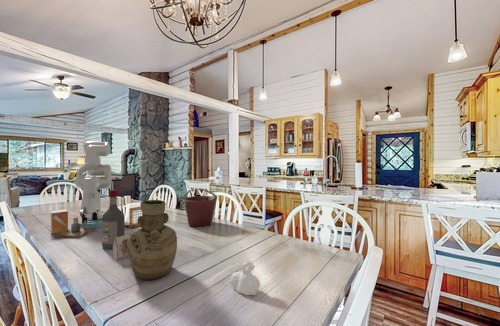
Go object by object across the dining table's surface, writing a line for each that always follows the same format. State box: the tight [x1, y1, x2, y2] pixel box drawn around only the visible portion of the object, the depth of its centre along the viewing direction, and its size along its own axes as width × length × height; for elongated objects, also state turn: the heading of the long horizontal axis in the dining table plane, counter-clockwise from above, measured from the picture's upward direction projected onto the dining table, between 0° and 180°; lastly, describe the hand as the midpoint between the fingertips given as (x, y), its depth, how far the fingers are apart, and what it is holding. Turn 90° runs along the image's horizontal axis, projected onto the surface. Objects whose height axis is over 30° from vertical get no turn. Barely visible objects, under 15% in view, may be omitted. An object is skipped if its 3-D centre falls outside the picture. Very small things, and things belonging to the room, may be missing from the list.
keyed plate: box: [79, 220, 102, 229], centre depth 157 cm, size 14×6×3 cm, turn 89°
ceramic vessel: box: [122, 199, 178, 281], centre depth 97 cm, size 19×21×30 cm
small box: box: [50, 209, 69, 235], centre depth 147 cm, size 8×6×13 cm
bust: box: [230, 260, 261, 296], centre depth 86 cm, size 12×8×11 cm
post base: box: [54, 216, 96, 239], centre depth 143 cm, size 14×14×10 cm
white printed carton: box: [112, 234, 131, 261], centre depth 112 cm, size 4×7×10 cm, turn 147°
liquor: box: [101, 189, 125, 250], centre depth 125 cm, size 9×9×30 cm
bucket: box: [182, 188, 218, 228], centre depth 167 cm, size 24×22×25 cm
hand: (89, 221), depth 157 cm, fingers open, 9 cm apart
